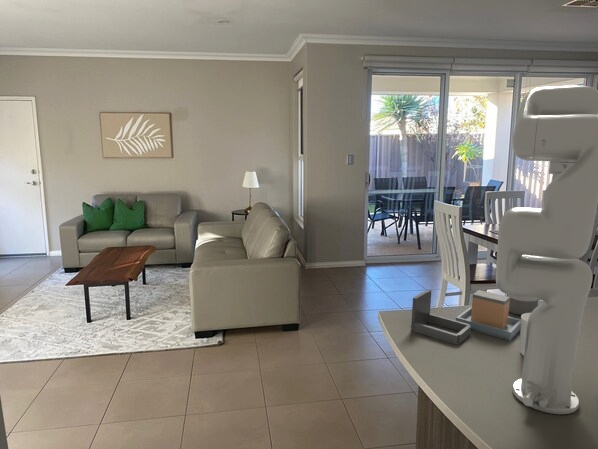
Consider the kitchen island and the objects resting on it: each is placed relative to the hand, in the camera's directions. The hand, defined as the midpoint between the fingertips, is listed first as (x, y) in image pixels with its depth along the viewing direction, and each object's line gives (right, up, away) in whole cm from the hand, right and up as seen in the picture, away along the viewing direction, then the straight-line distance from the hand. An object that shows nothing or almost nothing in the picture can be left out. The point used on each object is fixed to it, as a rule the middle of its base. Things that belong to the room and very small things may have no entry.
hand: (557, 231), depth 122 cm
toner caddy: (-15, -28, +10) cm, 33 cm away
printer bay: (-30, -29, +7) cm, 43 cm away
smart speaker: (0, -27, +21) cm, 34 cm away
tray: (-15, -29, +10) cm, 34 cm away
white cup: (-10, -32, -7) cm, 34 cm away
